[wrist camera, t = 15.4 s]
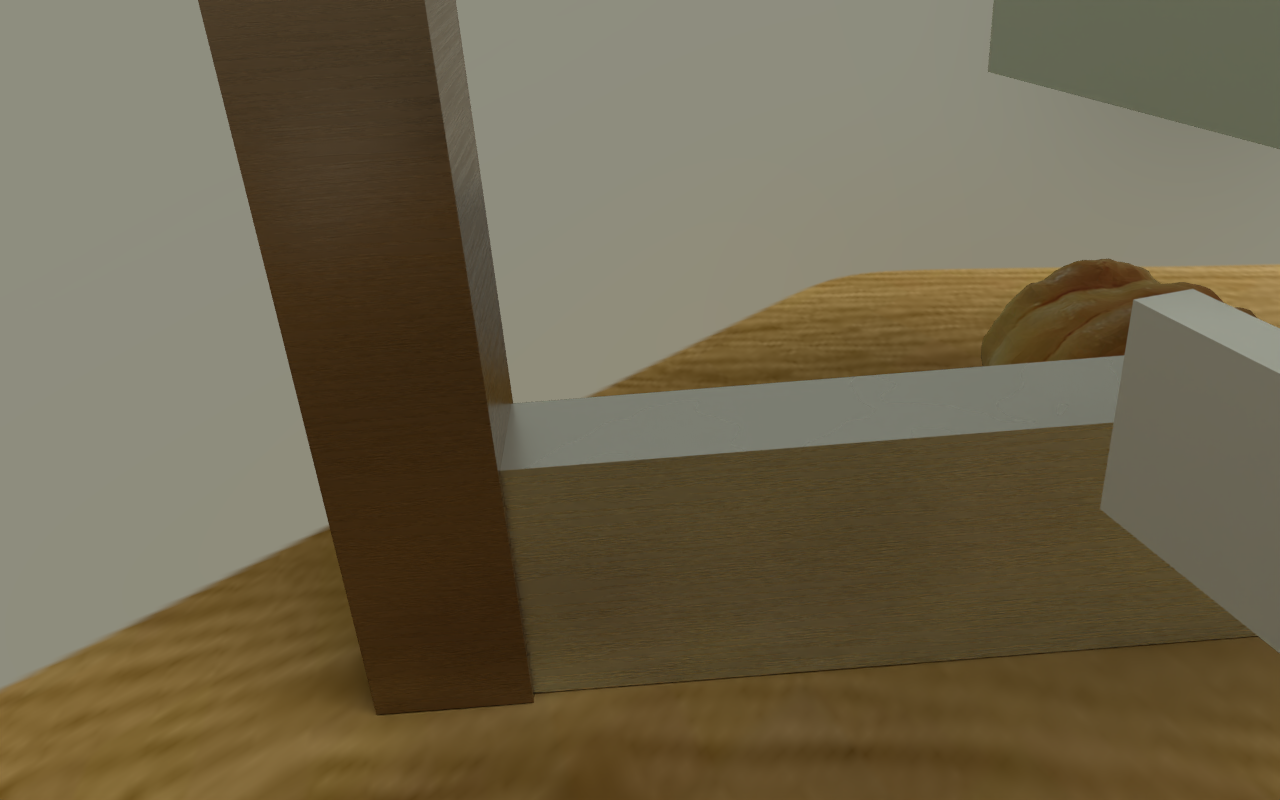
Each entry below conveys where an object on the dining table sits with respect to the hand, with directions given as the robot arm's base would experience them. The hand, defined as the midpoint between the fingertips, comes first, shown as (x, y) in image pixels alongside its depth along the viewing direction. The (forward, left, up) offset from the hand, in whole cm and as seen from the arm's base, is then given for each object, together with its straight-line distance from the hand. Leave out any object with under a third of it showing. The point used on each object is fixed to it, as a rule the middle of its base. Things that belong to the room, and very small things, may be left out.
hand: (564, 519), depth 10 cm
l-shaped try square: (-9, -6, -8) cm, 13 cm away
